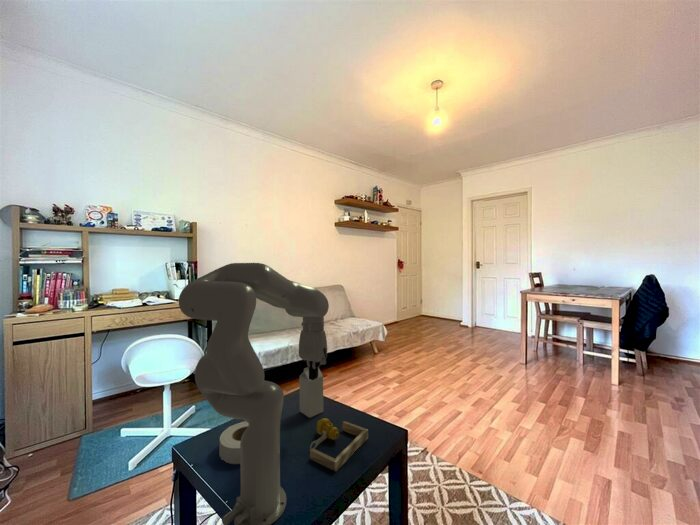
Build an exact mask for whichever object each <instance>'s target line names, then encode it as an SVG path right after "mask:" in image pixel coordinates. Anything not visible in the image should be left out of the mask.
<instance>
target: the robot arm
mask: <svg viewBox="0 0 700 525" xmlns="http://www.w3.org/2000/svg"><path fill="white" fill-rule="evenodd" d="M257 299H258V300H260V301H262V302H264V303H267V304H268V305H271V306H272V307H276V308H279V309H283V310H285V312H286V313H287V314H288V315H289V316H291V317H294V318H295V317H298V318H302V322H301V326H302V329H301V330H300V333H299V334H300V335H299V338H298V339H299V341H298V357H299V358H300V359H301V360H302V361H304V362H305V363H306V366H307V367H308V368H309V379H310V380H314V379H316V378H318V367H319V368H320V367H321V366H323V365H326V364H327V358H328V341H327V335H326V334H327V333H326V331H325V328H324V327H325V317H326V315H327V313H328V311H329V307H330V306H329V305H330V304H329V301H328V298H327V297H326V295H325V294H324V293H323V292H321V291H320V290H318V289H317V288H315V287H312V286H309V285H305V284H302V283H300V282H297V281H293V280H290V279H288V278H287V277H285V276H284V275H282V274H280V273H279V272H278V271H276V270H275V269H274V268H272V267H270V266H269V265H267V264H265V263H260V262H231V263H228V264H226V265H223V266H220V267H219V268H215V269H214V270H211V271H210V272H208V273H206V274H204V275H202V276H200V277H198V278H195V279H193V280H192V281H190V282H188V284H187V285H185V286H184V288H182V290H181V292H180V294H179V296H178V306H179V309H180V312H181V313H182V314H184V315H185V316H186V317H187V318H190V319H194V320H201V321H202V320H203V321H204V320H205V321H216V323H215V326H214V328H213V331H212V333H211V335H210V336H209V339H208V341H207V344H206V353H204V355H202V357H201V358H200V359H199V360H198V362H197V364H196V366H195V371H194V381H195V385H196V387H197V389H198V390H199V392H200V393H201V395H202V396H203V398H205V400H206V401H207V402H208V403H209V405H210V406H211V408H212V409H213V410H214V411H215V412H216V413H218V414H219V415H221V416H223V417H227V418H232V419H235V420H236V419H237V420H240V421H243V422H245V421H246V422H248V428H247V429H246V430H245V432H244V433H243V435H242V437H241V442H240V464H239V465H240V469H239V470H240V495H238V496H237V497H236V503H235V505H234V506H233V509H231V510H230V511H228V512H227V513H226V514H225V515H224V516H222V518H221V522H222V525H229V524H230V523H231V522H232V521H233V524H234V525H272V524H273V523H275V522H276V521H277V520H278V519H279V518H281V516H282V515H283V513H284V511H285V509H286V505H287V493H286V492H285V490H284V488H283V487H282V486H281V441H280V440H281V431H280V430H281V420H282V419H281V418H282V412H283V405H284V400H285V398H284V397H285V396H284V391H283V389H282V387H281V386H280V385H279V384H277V383H275V382H273V381H269V380H265V370H264V367H263V364H262V362H261V360H260V359H259V357H258V355H257V352H256V351H255V349H254V347H253V345H252V343H251V342H250V339H249V331H250V326H251V322H252V320H253V317H254V314H255V310H256V307H257V306H256V305H257ZM307 367H306V368H307Z"/></svg>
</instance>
